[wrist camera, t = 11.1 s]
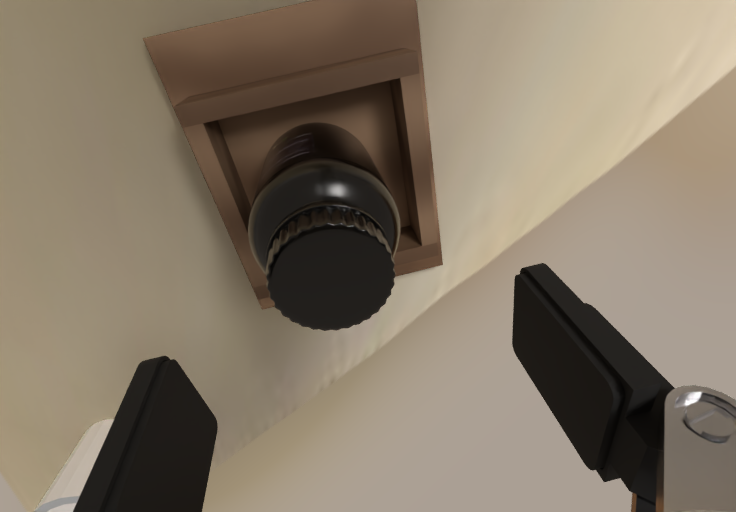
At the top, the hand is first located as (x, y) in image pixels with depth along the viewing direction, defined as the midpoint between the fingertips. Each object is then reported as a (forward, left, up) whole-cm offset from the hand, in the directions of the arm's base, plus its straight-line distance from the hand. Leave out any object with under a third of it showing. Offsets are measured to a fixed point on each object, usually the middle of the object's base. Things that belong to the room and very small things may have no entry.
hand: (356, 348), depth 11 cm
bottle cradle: (0, 0, -17) cm, 17 cm away
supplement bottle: (0, 0, -16) cm, 16 cm away
